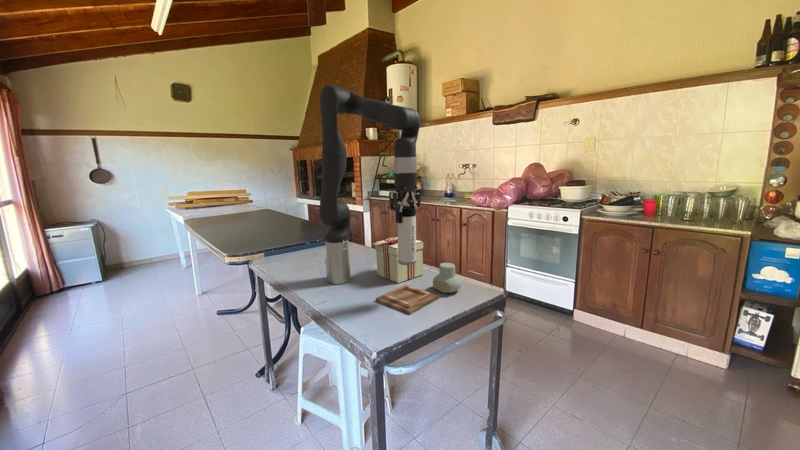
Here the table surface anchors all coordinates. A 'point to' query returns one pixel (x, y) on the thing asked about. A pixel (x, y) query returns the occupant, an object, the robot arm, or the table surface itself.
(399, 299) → the tan square plate
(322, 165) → the robot arm
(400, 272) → the gift box
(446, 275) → the air freshener
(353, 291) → the table surface
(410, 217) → the travel mug
